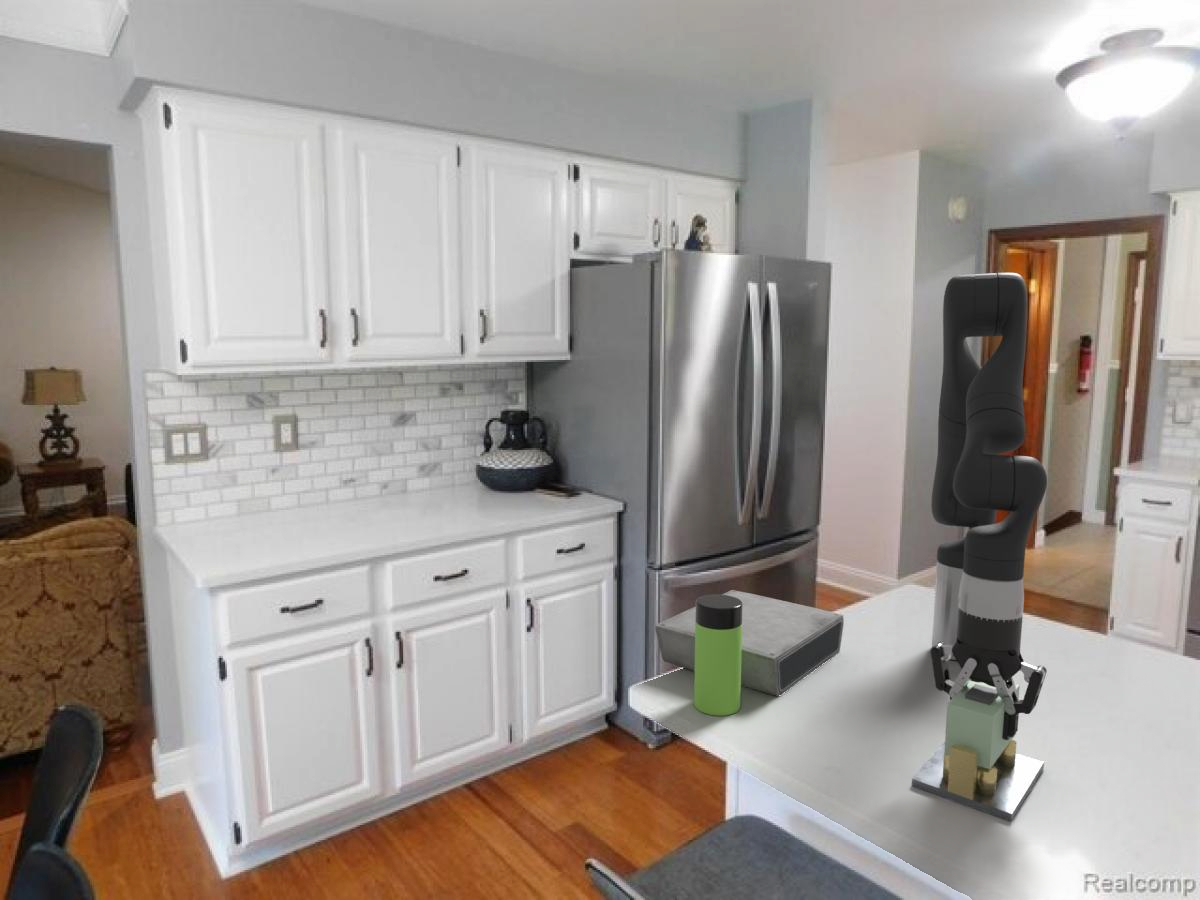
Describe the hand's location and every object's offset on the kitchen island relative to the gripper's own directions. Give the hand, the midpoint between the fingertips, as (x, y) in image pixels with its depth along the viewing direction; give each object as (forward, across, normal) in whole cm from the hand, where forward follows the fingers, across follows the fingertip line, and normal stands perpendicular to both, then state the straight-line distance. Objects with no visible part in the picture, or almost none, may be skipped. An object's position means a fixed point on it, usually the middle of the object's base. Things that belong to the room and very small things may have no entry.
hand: (981, 729), depth 107 cm
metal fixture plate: (+7, 0, 0) cm, 7 cm away
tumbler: (+7, +38, +5) cm, 39 cm away
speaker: (+7, +44, -16) cm, 47 cm away
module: (+2, 0, 0) cm, 2 cm away
